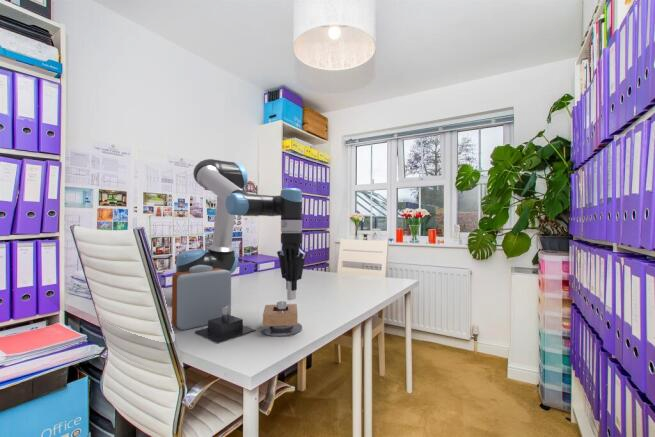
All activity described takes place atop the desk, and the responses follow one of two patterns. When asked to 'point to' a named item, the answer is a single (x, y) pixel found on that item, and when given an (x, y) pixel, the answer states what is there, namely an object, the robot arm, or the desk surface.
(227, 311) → the stand
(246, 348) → the desk surface
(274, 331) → the hub
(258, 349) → the desk surface
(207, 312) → the grey rounded upright slab
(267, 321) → the brown square ring block
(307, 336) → the desk surface
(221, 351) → the desk surface
